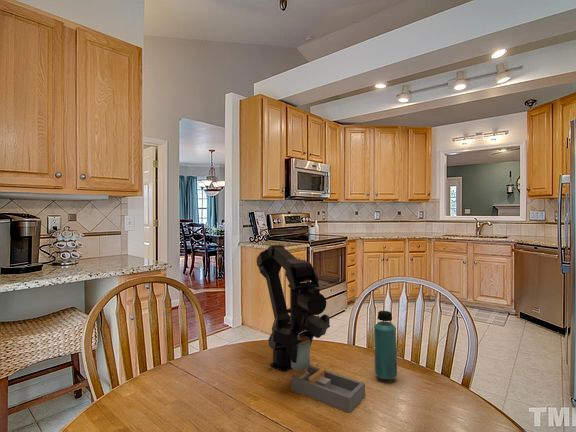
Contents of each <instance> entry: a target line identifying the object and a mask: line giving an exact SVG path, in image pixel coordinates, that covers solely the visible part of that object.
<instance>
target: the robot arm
mask: <svg viewBox="0 0 576 432" xmlns="http://www.w3.org/2000/svg"><path fill="white" fill-rule="evenodd" d="M256 266H257V268H258V270H259V273H260V274H261V275H262V276H263V277H264V279H265V280H266V285H267V289H268V293H269V299H270V303H271V308H272V314H273V318H274V319H273V320H274V321H273V323H272V326H271V334H270V336H269V337H268V339H267V340H268V347H270V349H271V350H272V359H273V360H272V363H270V364H269V366H270V368H275V369H278V370H280V371H283V372H287V371H288V370H290V369H293V368H292V367H291V360H292V362H293V363H296V360H297V349H298V345H299V344H300V343H301V342H302V341H299V340H298V336H299V335H304V336H307V337H309V340H310V347H311V345H312V343H313V340H314V338H317V339H319V338H322V336H324V335H326V334H327V330H328V329H330V327H331V325H330V315H327V314H326V313H324V311H325V310H326V307H327V300H326V297H325V296H324V294H322V293H320V292H321V291H320V284H319V278H318V276H317V273H316V272H315V268H314V266H313V265H312V263H311V262H310V261H307V260H306V259H299V258H297V257H296V256H294V255H293V254H292V253H291V252H290V251H288V250H287V249H286V248H285V246H284V245H282V244H272V245H270V246H268V248H267V249H265V250H263V251H261V252H260V253H259V254H258V255H257V257H256ZM282 268H283V269H284V271H285V277H286V279H287V281H288V286H287V287H288V288H289V293H290V294H289V297H290V298H289V300H290V301H289V302H290V305H289V306H290V307H288V306H287V303H286V298H285V295H284V290H283V286H282V283H281V282H282V281H281V277H280V272H281V269H282ZM323 313H324V314H323ZM321 314H323V315H321ZM320 315H321V316H320Z"/></svg>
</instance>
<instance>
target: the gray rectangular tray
mask: <svg viewBox="0 0 576 432" xmlns="http://www.w3.org/2000/svg"><path fill="white" fill-rule="evenodd" d="M320 369H321V368H319V367H317V366H313V365H311V364H310V368H309V369H307V370H306V372H305V373H303V374H301V375H300V376H299V377H298V376H295V375H292V376H291V377H290V390H291V391H293V392H296V393H298V394H300V395H303V396H306V397H309V398H310V399H313V400H316V401H318V402H320V403H324V404H326V405H329V406H331V407H334V408H336V409H339V410H342V411H344V412H347V413H349V414H351V412H352V411H353V410H354V409H356V407H357V406H358V405H359V404H360V402H361V401H362V400H363V399H365V397H366V382H363V381H360V380H357V379H355V378H351V377H348V376H344V375H343V374H342V375H341V374H339V373H335V372H332V371H329V370H326V369H324V370H325V378H328V379H331V387H330V388H326V387H324V386H321V385H318V384H315V383H312V382H310V381H309V377H310V376H311V375H313V374H314V373H316V372H317V371H318V370H320Z"/></svg>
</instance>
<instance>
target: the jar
mask: <svg viewBox="0 0 576 432" xmlns="http://www.w3.org/2000/svg"><path fill="white" fill-rule="evenodd" d="M298 340H299V341H302V342H301V343H300V344H299V345H298V349H297V360H296V363H293V362H292V360H291V367H292V368H291V369H293V370H295V371H307V369H309V368H310V365H311V346H310V340H309V337H307V336H304V335H299V336H298Z"/></svg>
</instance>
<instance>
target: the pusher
mask: <svg viewBox="0 0 576 432" xmlns="http://www.w3.org/2000/svg"><path fill="white" fill-rule="evenodd" d="M325 370H326V369H323V368H320V370H318V371H317V372H316V373H314V374H313V375H311V376H310V377H309V381H310V382H312V383H315V384H318V385H321V386H324V387H326V388H330V387H331V379H328V378H325Z"/></svg>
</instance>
